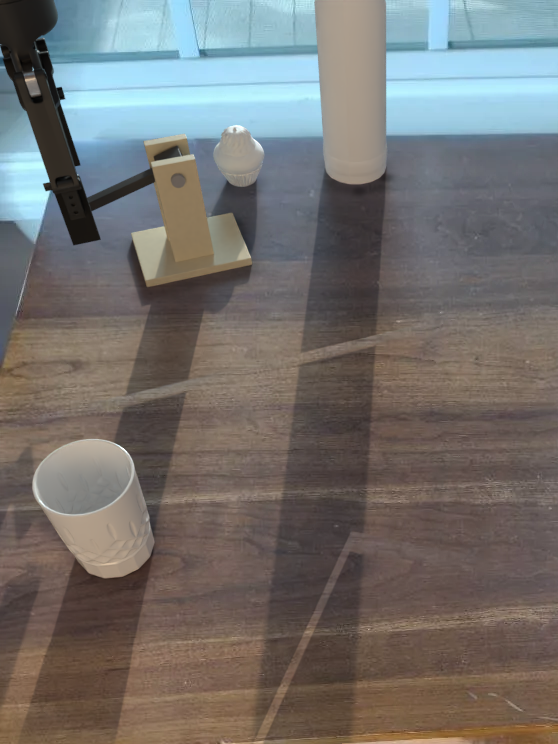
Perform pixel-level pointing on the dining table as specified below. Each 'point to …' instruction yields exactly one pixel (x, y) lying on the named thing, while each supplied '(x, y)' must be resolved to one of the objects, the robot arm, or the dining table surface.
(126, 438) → the dining table surface
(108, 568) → the white cup
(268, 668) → the dining table surface
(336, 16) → the bottle
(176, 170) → the bracket
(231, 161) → the muffin
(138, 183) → the lever
